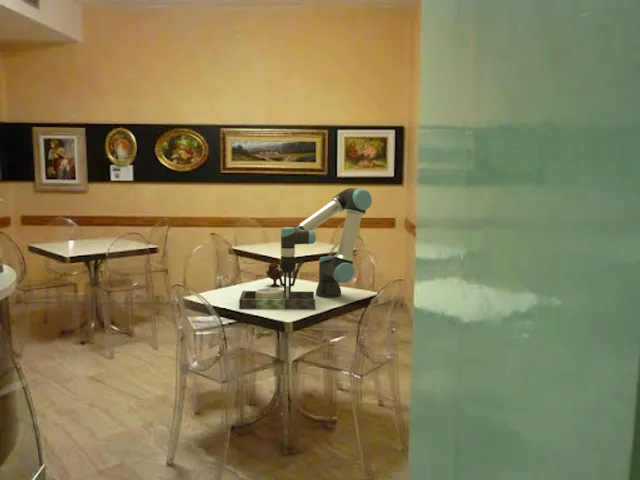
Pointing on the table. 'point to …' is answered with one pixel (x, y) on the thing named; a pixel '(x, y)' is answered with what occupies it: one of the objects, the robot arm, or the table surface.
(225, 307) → the table surface
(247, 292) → the shallow tray
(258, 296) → the paper bowls
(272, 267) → the ice cream bowl
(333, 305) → the table surface
